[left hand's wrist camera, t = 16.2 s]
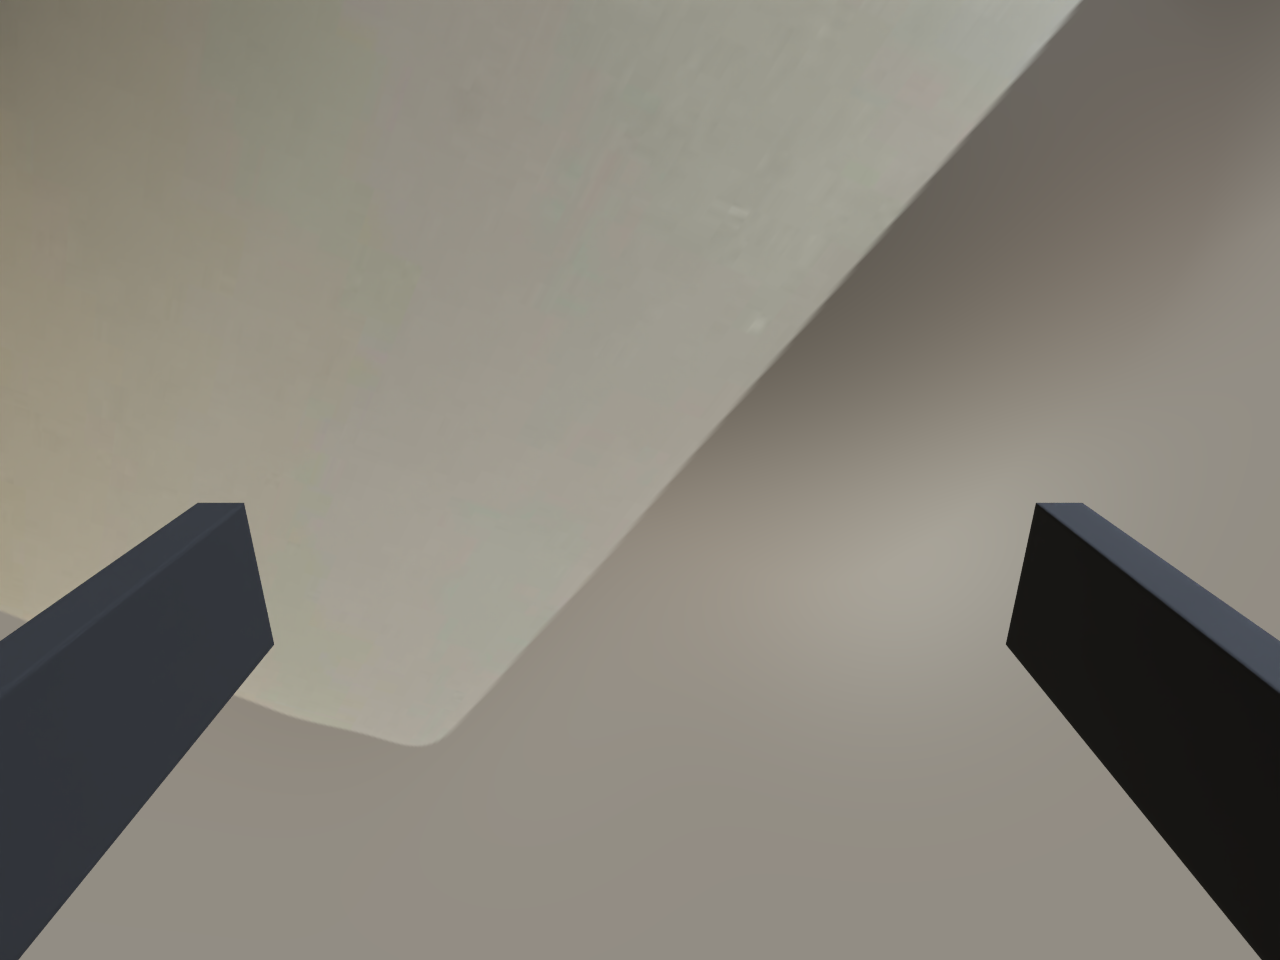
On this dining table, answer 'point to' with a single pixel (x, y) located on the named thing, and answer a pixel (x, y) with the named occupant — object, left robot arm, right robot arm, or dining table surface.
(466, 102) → the dining table surface
